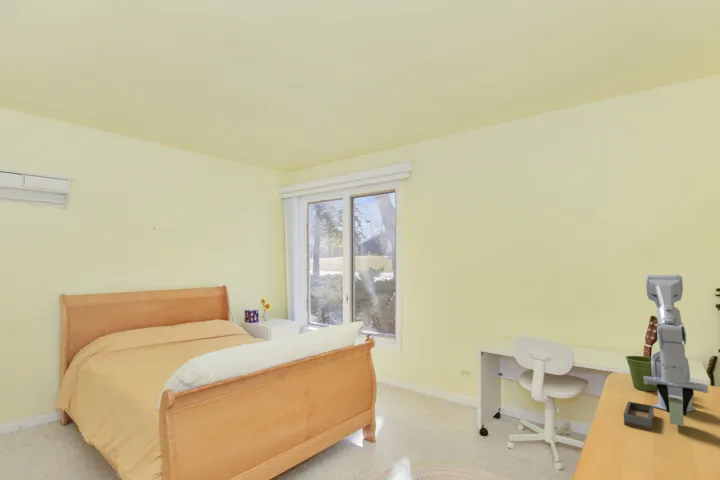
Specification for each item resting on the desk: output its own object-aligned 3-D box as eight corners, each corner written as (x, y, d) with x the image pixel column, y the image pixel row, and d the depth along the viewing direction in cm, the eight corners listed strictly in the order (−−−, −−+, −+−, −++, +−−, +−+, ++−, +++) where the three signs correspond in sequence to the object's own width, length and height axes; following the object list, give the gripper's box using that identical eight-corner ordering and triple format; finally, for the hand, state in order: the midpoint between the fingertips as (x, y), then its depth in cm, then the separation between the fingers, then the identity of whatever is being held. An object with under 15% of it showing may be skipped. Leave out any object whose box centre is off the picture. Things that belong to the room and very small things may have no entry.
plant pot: (666, 395, 140) (664, 364, 141) (627, 390, 146) (625, 360, 147) (663, 387, 150) (661, 357, 150) (626, 382, 156) (624, 354, 157)
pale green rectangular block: (670, 415, 117) (669, 394, 117) (683, 417, 115) (682, 396, 115) (670, 423, 110) (668, 402, 111) (683, 426, 109) (682, 404, 109)
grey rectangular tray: (628, 410, 126) (628, 401, 126) (654, 415, 121) (653, 405, 122) (624, 424, 115) (623, 414, 115) (651, 430, 111) (651, 419, 111)
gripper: (642, 364, 115) (644, 411, 114) (707, 372, 106) (710, 423, 105) (643, 360, 121) (646, 404, 120) (705, 367, 112) (709, 415, 111)
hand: (676, 413), depth 113 cm, fingers closed on pale green rectangular block, 3 cm apart
